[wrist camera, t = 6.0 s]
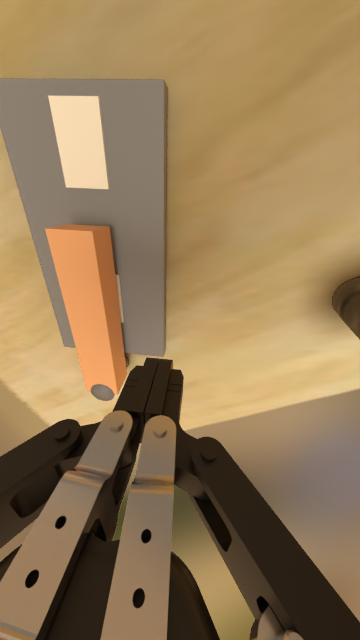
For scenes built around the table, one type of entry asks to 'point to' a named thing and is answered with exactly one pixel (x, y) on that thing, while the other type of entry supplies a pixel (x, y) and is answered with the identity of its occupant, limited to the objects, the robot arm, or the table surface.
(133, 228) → the label board
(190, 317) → the table surface
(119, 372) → the swing bar
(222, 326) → the table surface
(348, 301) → the beverage cup
